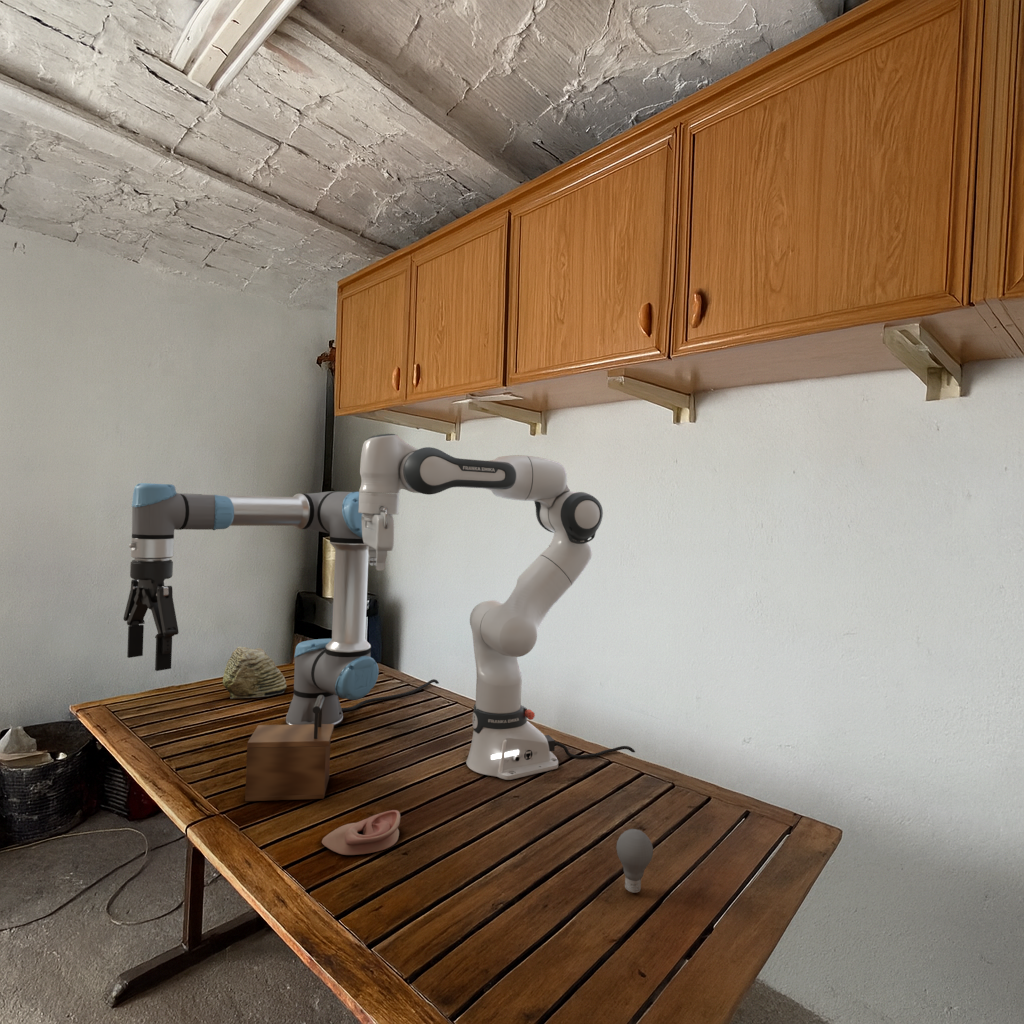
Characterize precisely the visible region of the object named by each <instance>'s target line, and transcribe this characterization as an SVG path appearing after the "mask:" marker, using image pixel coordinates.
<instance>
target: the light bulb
mask: <svg viewBox="0 0 1024 1024" xmlns="http://www.w3.org/2000/svg"><path fill="white" fill-rule="evenodd" d="M615 849H616V854H617V857H618V859H619V861H620V863H621V865H622V867H623V873H624V874H623V875H624V876H625V878H624V888H625V890H627V891H628V892H630V893H634V894H635V893H639V892H640V891H641V889H642V887H641V886H642V879H643V877H644V875H645V871H646V868H647V867H648V866H649V864H650V863H651V861H652V859H653V855H654V847H653V843H652V841H651V838H649V836H648V835H647V834H646V833H645V832H643V831H642V830H641V829H636V828H629V829H627V830H625V831H623V832H622V833H621V834H620V835H619V837H618V839H617V841H616V847H615Z"/></svg>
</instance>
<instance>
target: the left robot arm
mask: <svg viewBox="0 0 1024 1024" xmlns="http://www.w3.org/2000/svg"><path fill="white" fill-rule="evenodd" d="M358 510H359V491H337V490H336V491H335V490H333V491H332V490H331V491H321V492H311V493H296V494H294V495H293V496H276V495H275V496H274V495H273V496H271V495H245V494H244V495H241V494H216V493H215V494H214V493H213V494H211V493H183V492H181V493H179V492H177V491H176V486H175V485H174V484H170V483H151V482H150V483H148V482H147V483H146V482H141V483H140V482H139V483H137V484H136V485H135V486H134V488H133V493H132V501H131V543H128V547H129V548H130V549H131V550H130V557H131V558H133V559H132V560H131V561H130V567H129V568H130V569H129V570H130V571H129V574H130V575H129V576H130V578H131V581H130V590H129V593H128V598H127V602H126V606H125V610H124V615H123V621H124V622H126V625H127V627H128V628H127V651H126V653H127V656H126V657H127V658H128V659H131V658H139V657H143V656H144V629H145V625H144V624H146V621H145V619H144V618H145V616H146V615H147V612H148V610H150V611H151V615H152V618H153V621H154V625H155V628H156V631H157V633H156V635H155V636H154V638H155V659H154V660H155V661H154V671H155V672H160V671H166V670H171V669H172V658H173V657H172V655H173V654H172V653H173V637H175V636H177V635H179V625H178V621H177V615H176V614H177V613H176V610H175V603H174V597H173V586H172V585H165V580H168V579H171V578H172V577H173V575H174V574H173V572H174V571H173V570H174V561H173V560H172V558H173V557H174V554H175V553H174V552H175V530H176V531H181V530H194V531H195V530H197V531H198V530H201V531H202V530H208V531H209V530H212V531H216V530H225V529H229V528H230V527H234V526H235V527H238V526H239V527H243V526H244V527H250V526H251V527H252V526H253V527H254V526H256V527H259V526H260V527H263V526H265V527H266V526H268V527H269V526H270V527H271V526H274V527H275V526H276V527H277V526H279V527H280V526H281V527H284V526H285V527H290V526H291V527H293V528H294V529H296V530H308V531H309V530H310V531H316V532H319V533H325V534H329V544H330V545H331V546H332V547H333V548H334V550H335V551H334V572H333V573H334V577H333V599H332V625H331V626H332V627H331V638H318V639H308V640H304V641H300V642H299V643H297V645H296V646H295V650H294V655H293V657H294V672H293V673H294V674H293V695H292V696H293V697H292V699H291V701H290V702H289V705H288V706H289V708H288V711H287V713H286V715H285V725H301V724H314V721H315V713H313V707H314V705H315V702H316V700H317V698H318V696H319V695H323V696H324V697H325V700H324V703H323V705H322V724H334V729H335V728H337V727H339V726H340V725H342V723H343V722H344V714H343V712H351V711H353V710H356V709H358V708H360V707H362V706H364V705H366V704H370V703H373V702H379V701H387V700H392V699H393V700H394V699H397V698H401V697H402V698H403V697H406V696H410V695H412V694H415V693H417V692H419V691H421V690H423V689H424V688H426V687H428V686H429V685H431V684H433V683H435V684H437V685H438V684H440V682H439V681H438V680H437V679H435V678H433V679H431V680H428V681H427V682H426V683H423V684H421V685H420V686H418V687H416V688H414V689H411V690H409V691H405V692H401V693H396V694H392V695H387V696H380V697H373V698H368V699H365V700H363V701H361V702H360V701H359V702H358V703H356V704H355V705H352V706H350V707H349V706H348V707H342V706H341V702H340V699H339V698H341V699H342V700H343V699H344V700H348V701H349V700H350V701H357V700H360V699H362V698H364V697H365V696H367V695H368V694H370V692H371V690H372V689H374V687H375V685H376V683H377V682H378V678H379V674H380V672H379V671H380V670H379V669H380V668H379V665H378V663H377V662H376V660H375V659H374V657H371V652H372V649H371V648H372V645H371V643H370V642H368V640H367V639H366V631H367V629H366V628H367V607H368V606H367V605H368V604H367V602H368V582H369V581H368V579H369V555H368V545H366V544H364V543H363V538H362V513H359V512H358Z"/></svg>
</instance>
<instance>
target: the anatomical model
mask: <svg viewBox="0 0 1024 1024" xmlns="http://www.w3.org/2000/svg"><path fill="white" fill-rule="evenodd" d="M400 823H401V813H400V811H399V810H397V809H392V810H391V809H390V810H387V811H383V812H380V813H377V814H373V815H371V816H369V817H367V818H365V819H362V820H360V821H356V822H349V823H346V824H344V825H341V826H339V827H337V828H335V829H334V830H332V831H331V832H329V833H328V834H326V835H325V836H324V837H323V838H322V840H321V844H322V845H323V846H324V847H325V848H327V849H328V850H330V851H332V852H334V853H337V854H339V855H342V856H356V855H357V856H358V855H366V854H371V853H378V852H382V851H383V850H386V849H388V848H390V847H392V846H394V845H395V844H396V843H397V842H398V840H399V836H400V830H399V827H400Z"/></svg>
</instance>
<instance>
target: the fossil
mask: <svg viewBox="0 0 1024 1024" xmlns="http://www.w3.org/2000/svg"><path fill="white" fill-rule="evenodd" d="M222 676H223V677H222V685H223V687H224V688H225V690H226V691H228V693H229V698H230V699H250V698H264V697H271V696H275V695H281V694H284V693H285V691H286V689H287V687H288V686H287V680H286V678H285V676H284V674H283V673H282V672H281V669H279V668H278V667H277V665H276V663H275V662H274V660H273V659H272V658H271V657H270V656H269V655H268V654H267V653H266V652H265V650H264V649H263V648H260V647H258V648H251V647H247V646H246V647H245V646H238V647H237V648H236V649H235V650H233V651H232V653H231V656H230V657H229V659H228V660H227V663H226V666H225V668H224V671H223V675H222Z"/></svg>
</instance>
